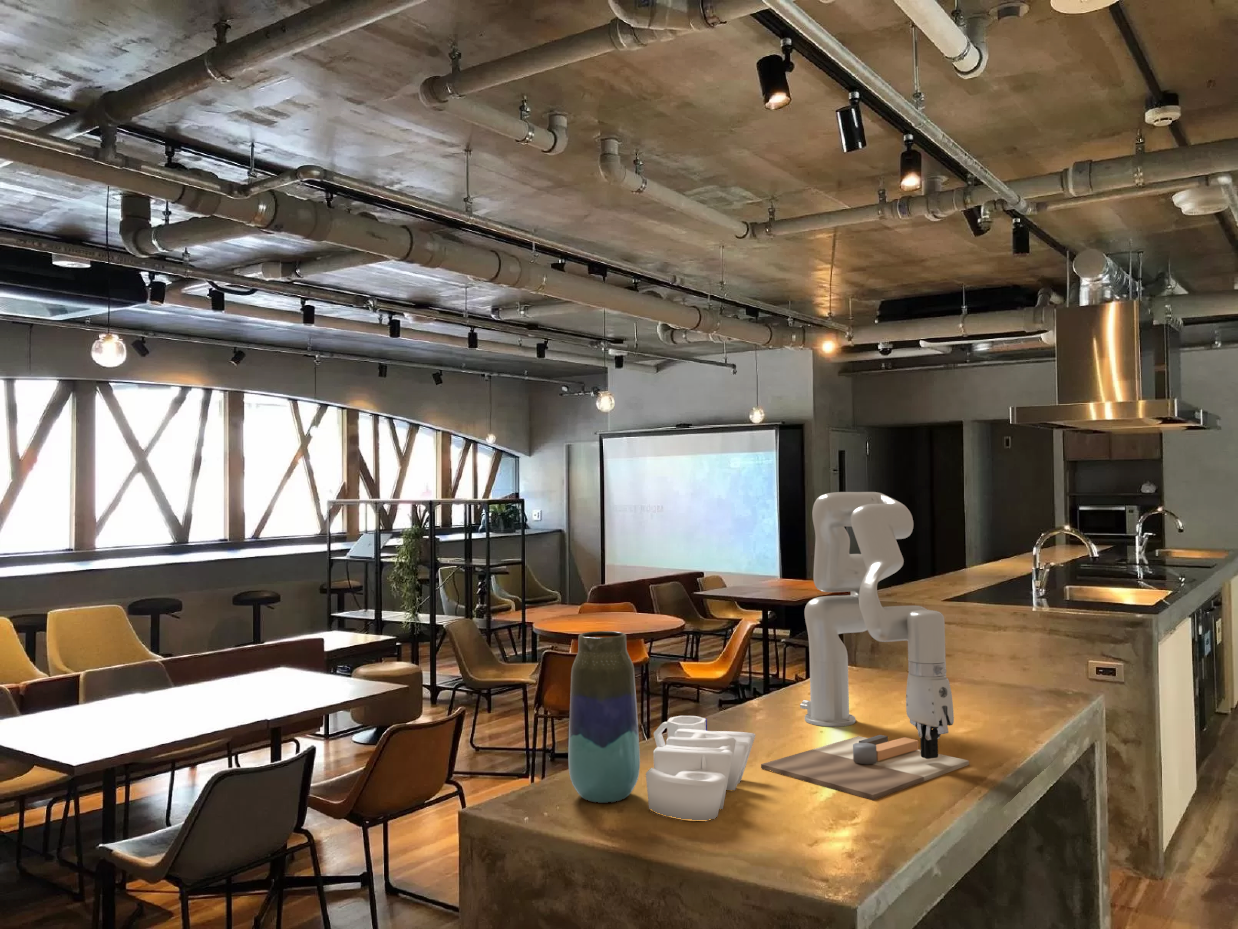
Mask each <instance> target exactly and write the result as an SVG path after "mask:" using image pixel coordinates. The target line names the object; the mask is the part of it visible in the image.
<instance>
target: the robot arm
mask: <svg viewBox="0 0 1238 929" xmlns="http://www.w3.org/2000/svg"><path fill="white" fill-rule="evenodd" d="M811 515H812V522H813V528H814V533H815V535H814V536H815V544H814V545H815V546H814V556H813V557H814V561H813V583H814V586H815V588H816V589H817V590H819V591H821V592H824V593H845V592H846V593H847V592H848V593H849V592H850V595H849V594H848V595H826V596H818V597H814V598H812V599H810V600H809V601H808V602H807V603H806V605H805V608H804V619H805V620H804V621H805V625H806V630H807V635H808V636H807V637H808V652H809V688H810V689H809V692H810V696H809V698H810V700H806V699H803V700H802V702H801V703H800V704H799V706H800V709H802V710H807V713H806V714H805V715H804V721H805V722H806V723H808V724H810V725H814V726H820V727H828V728H829V727H830V728H831V727H832V728H835V727H836V728H838V727H849V726H852V725H854V724H855V723H856V716H854V715H853V714H851V713H850V706H849V705H850V702H849V701H850V698H849V697H850V696H849V693H850V692H849V690H850V689H849V659H848V658H849V656H848V650H847V647H846V645H845V643H843V641H842V640H841V638H840V636H839V635H841V634H842V635H843V634H850V633H851V634H852V633H853V634H855V633H863V632H866V631H867V633H868V634H869V635H870V636H871V638H873V639H874V640H876V641H877V642H881V643H882V642H883V643H885V642H886V643H887V642H902V641H904V642H905V641H907V658H908V660H907V661H908V664H907V665H908V675H907V680H906V691H905V708H906V717H908V719H909V723H910V724H911V725H912V726H913V727H915V728H916V730H917V735H918V737H919V739H920V742H919V743H920V750H921V757H923V758H926V759H931V758H937V757H938V754H939V741H938V740H939V739H940V737H941V735H947V734H949V727H948V726H953V725H954V722H955V720H954V718H955V716H954V714H955V713H954V701H953V695H952V688H951V685H950V681H949V678H948V677H947V668H946V667H947V662H946V628H945V626H946V625H945V624H946V623H945V622H946V621H945V616H944V614H943V613H942V612H940V611H938V610H934V609H933V610H932V609H927V608H926V607H924V606H921V605H892V606H891V605H890V606H883V605H882V604H881V601H880V598H879V594H878V584H879V582H880V581H882V580H884V579H886V578H888V577H890V576H892V575H893V574H895V573H897V572H898V571H899V570H901V568H902V567H903V566H904V562H905V561H904V560H905V559H904V557H903V555H902V552H901V550H900V546H899V544H898V542H897V540H902V539H903V540H904V539H906V538H907V539H908V537H910V536H911V534H912V533H913V529H914V520H913V515H912V513H911V511H910V510H909V509H908V507H907V506H906V505H905V504H903V503H902V502H900V501H898V500H896V499H895V498H893V497H890V496H888V495H886V494H884V493H882V492H878V491H877V492H876V491H838V492H837V491H836V492H828V493H824V494H821V495H819V496H818V497H817V498H816V500H815V501H814V503H813V505H812V514H811ZM845 527H851V529H852V531H853V534H854V537H855V540H856V542H857V545H858V548H859V551H860V553H850V548H851V539H850V535H849V533H848V531H847V530H846V528H845Z"/></svg>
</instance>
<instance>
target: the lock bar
mask: <svg viewBox="0 0 1238 929" xmlns="http://www.w3.org/2000/svg"><path fill="white" fill-rule="evenodd" d="M915 750H920V749H919V740H917V739H914V738H910V737H905V736H904V737H900V738H897V739H892V740H890V741H889V740H888V742H885V743H881V744H877V745H874V744H871V743H855V744H853V761H854V762H856V763H860V764H874V763H876V762H877V761H880V760H883V759H887V758H890V757H894V756H898V755H901V754H905V753H908V752H912V751H915Z"/></svg>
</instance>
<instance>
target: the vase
mask: <svg viewBox="0 0 1238 929" xmlns="http://www.w3.org/2000/svg"><path fill="white" fill-rule="evenodd" d="M577 642H578V643H577V644H578V647H577V649H578V650H577V654H576V656H575V658H574V661H573V663H572V666H571V672H570V693H569V695H570V696H569V722H568V724H569V725H568V750H567V751H568V753H567V754H568V757H567V758H568V772H569V773H568V774H569V778H570V782H571V784H572V786H573V787H574V789H575V791H576V792H577V794H578V795H579V796H580V797H581V798H582V799H583V800H585V801H587V800H588V801H589V802H590V803H591V802H593V803H596V802H598V804H607V803H608V802H611V803H615V802H616V801H617V802H619V801H622V799H623V800H624V799H626V798H628V797H629V796H630V795H631V793H632V792H633V791H634V789H635V786H636V785H637V782H638V781H639V776H640V768H641V767H640V766H641V765H640V764H641V759H640V758H641V757H640V756H641V752H640V736H639V735H640V734H639V720H638V717H639V716H638V707H637V706H638V705H637V704H638V703H637V692H636V678H635V677H636V676H635V666H634V663H633V661H632V659H631V656H630V655H629V652H628V650H627V647H628V646H627V634H625V633H624V632H621V631H612V630H607V631H606V630H602V631H601V630H599V631H588V632H584V633H580V634H579V635H578V640H577ZM608 804H609V803H608Z"/></svg>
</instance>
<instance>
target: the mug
mask: <svg viewBox="0 0 1238 929" xmlns="http://www.w3.org/2000/svg"><path fill="white" fill-rule="evenodd" d="M706 719H707V718H705V717H701V716H696V715H678V716H677V715H676V716H673V717H672V716H671V717H669V718H668V720H667V721H664V722H661V724H660V725H659V726H658V727H657V728H656V730H654V732H653V736H654V737H653V738H654V741H655V744H656V748H657V747H663V746H665V745H666V741H665V739H664V737H663V732H664V731H665V729H667V739H668V738H669V737H670V736H671V737H675V731H677V730H678V729H696V730H705V731H706Z"/></svg>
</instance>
